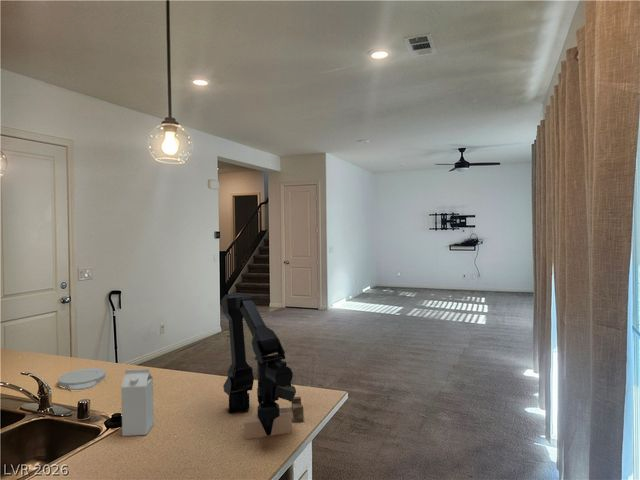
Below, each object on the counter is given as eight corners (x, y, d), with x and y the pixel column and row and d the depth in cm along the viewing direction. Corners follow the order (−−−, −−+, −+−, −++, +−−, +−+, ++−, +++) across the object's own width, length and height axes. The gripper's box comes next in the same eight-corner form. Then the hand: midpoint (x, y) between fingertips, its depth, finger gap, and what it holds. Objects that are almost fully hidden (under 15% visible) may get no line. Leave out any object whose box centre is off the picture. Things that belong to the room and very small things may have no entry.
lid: (56, 396, 156) (55, 388, 156) (59, 379, 174) (59, 372, 174) (107, 387, 165) (107, 379, 165) (105, 372, 182) (105, 365, 182)
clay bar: (245, 440, 122) (244, 423, 122) (244, 434, 125) (243, 418, 125) (291, 433, 126) (291, 417, 125) (289, 427, 129) (289, 412, 129)
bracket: (259, 425, 130) (259, 410, 130) (259, 412, 139) (258, 399, 139) (303, 421, 133) (303, 407, 132) (300, 409, 142) (300, 396, 141)
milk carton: (131, 425, 131) (129, 366, 131) (154, 424, 132) (152, 365, 131) (122, 436, 124) (120, 374, 124) (146, 435, 125) (145, 373, 124)
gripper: (296, 386, 117) (298, 441, 117) (291, 365, 135) (292, 413, 136) (257, 389, 115) (258, 445, 115) (256, 368, 134) (257, 416, 134)
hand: (268, 428), depth 125 cm, fingers open, 8 cm apart
